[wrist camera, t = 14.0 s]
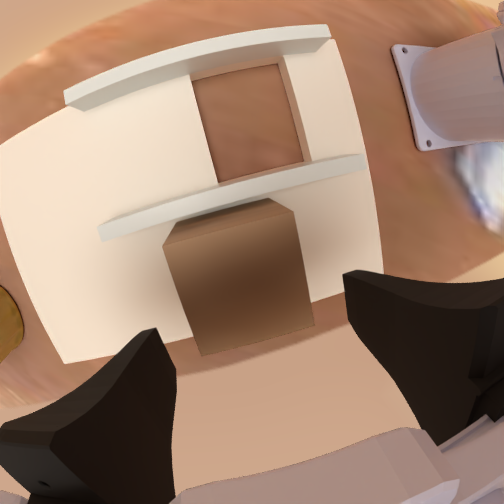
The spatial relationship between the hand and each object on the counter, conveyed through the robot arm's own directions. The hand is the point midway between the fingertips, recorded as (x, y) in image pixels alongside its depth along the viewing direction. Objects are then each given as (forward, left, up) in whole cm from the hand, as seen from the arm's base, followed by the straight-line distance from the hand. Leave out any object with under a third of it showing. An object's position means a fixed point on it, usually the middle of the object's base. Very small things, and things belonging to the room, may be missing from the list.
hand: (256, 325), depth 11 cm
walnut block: (0, -1, -6) cm, 6 cm away
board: (+3, -4, -8) cm, 10 cm away
